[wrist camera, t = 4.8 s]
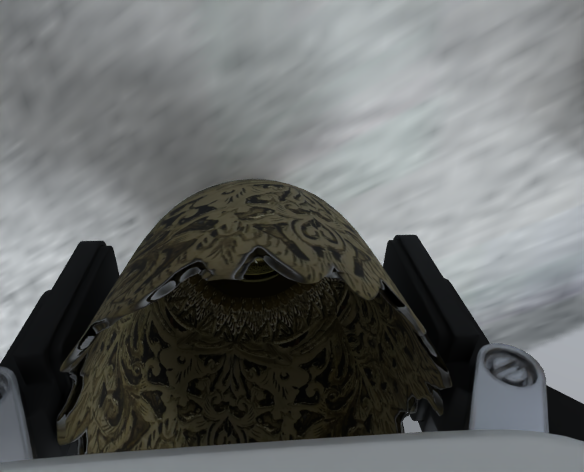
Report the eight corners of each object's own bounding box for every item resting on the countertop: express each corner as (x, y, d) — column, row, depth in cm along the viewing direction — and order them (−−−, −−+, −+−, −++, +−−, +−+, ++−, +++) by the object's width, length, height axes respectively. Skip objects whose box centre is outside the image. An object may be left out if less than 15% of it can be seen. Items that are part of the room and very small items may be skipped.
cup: (312, 319, 18) (353, 539, 11) (127, 281, 16) (38, 518, 9) (394, 157, 14) (531, 334, 7) (167, 82, 12) (71, 228, 5)
